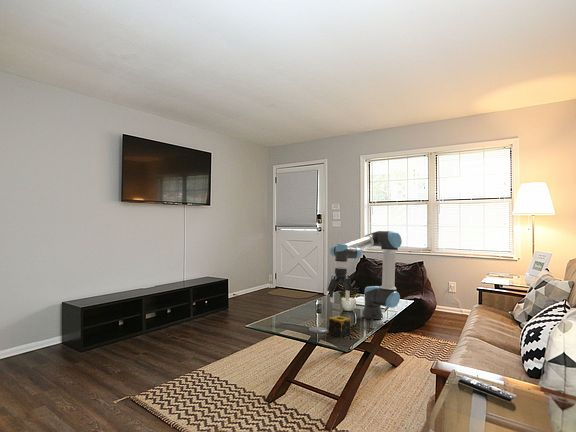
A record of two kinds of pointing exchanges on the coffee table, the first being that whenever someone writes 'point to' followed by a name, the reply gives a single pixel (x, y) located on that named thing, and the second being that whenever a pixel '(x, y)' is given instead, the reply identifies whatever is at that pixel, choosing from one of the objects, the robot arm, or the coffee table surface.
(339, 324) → the candle
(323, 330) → the coaster
